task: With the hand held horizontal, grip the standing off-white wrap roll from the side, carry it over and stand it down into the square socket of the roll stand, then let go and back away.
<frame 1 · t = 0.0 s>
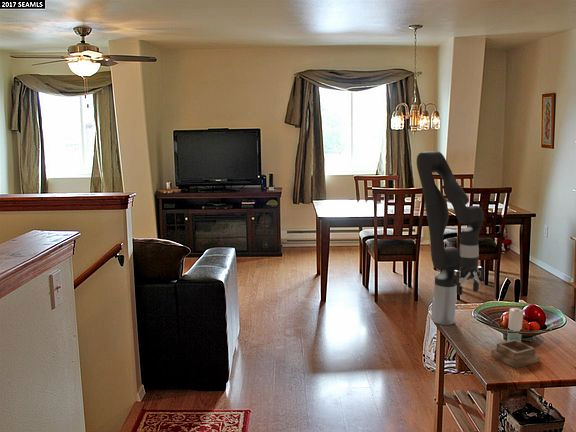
hand: (467, 293, 240), 17 cm above the table, tool pointing down, fingers open, 8 cm apart
stand: (515, 358, 219), on the table
roll: (513, 343, 232), on the table
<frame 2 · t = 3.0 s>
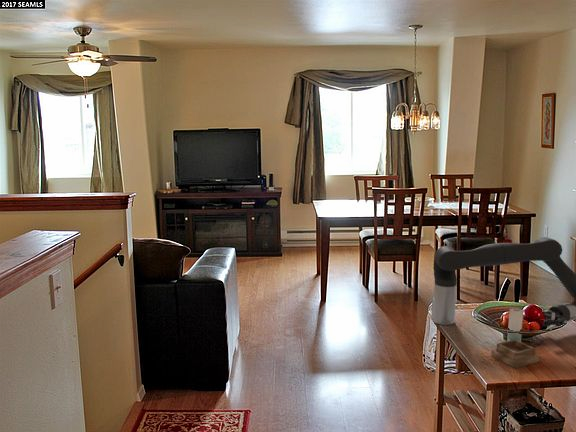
hand: (535, 319, 235), 8 cm above the table, tool horizontal, fingers open, 8 cm apart
nothing on the table moved.
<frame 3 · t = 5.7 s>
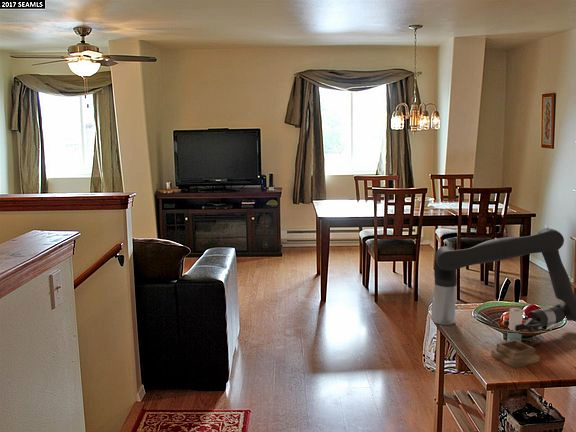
hand: (510, 325, 229), 8 cm above the table, tool horizontal, fingers closed on roll, 5 cm apart
roll: (513, 343, 232), on the table, touching gripper
when the fingers open (11 cm above the table, at t = 10.6 s): roll drops 1 cm, resting on stand.
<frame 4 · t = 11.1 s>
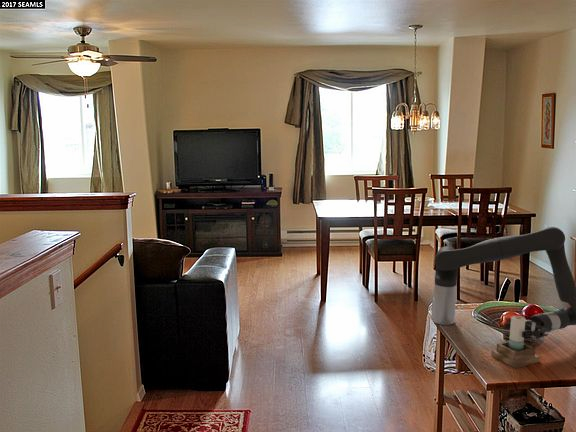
hand: (513, 330, 216), 12 cm above the table, tool horizontal, fingers open, 8 cm apart
roll: (515, 353, 219), point 2 cm above the table, touching stand
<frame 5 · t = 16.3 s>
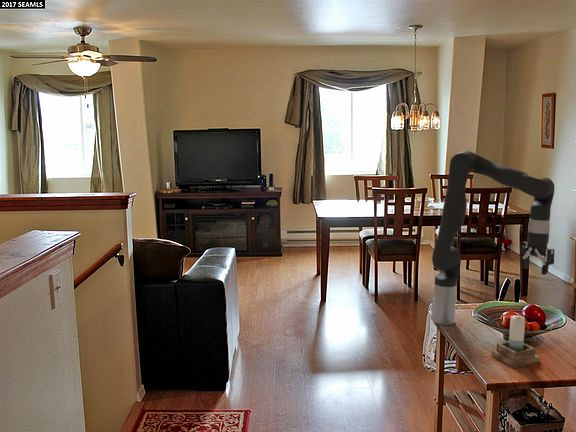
hand: (535, 271, 225), 30 cm above the table, tool pointing down, fingers open, 8 cm apart
nothing on the table moved.
at the end: roll 0.1 cm off-centre on the stand, point 2.1 cm above the stand's base; roll tilted 1°; the gripper is holding nothing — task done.
